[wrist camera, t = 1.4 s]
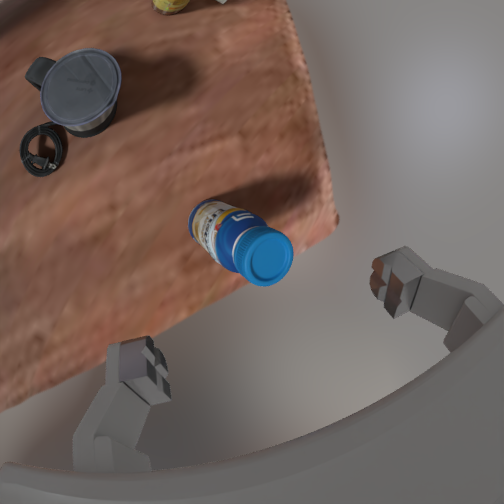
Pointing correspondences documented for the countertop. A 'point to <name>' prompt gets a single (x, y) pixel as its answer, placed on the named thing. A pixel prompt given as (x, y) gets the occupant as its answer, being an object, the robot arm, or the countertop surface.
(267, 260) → the beverage bottle
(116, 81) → the milk frother
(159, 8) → the sauce bottle
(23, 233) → the countertop surface
